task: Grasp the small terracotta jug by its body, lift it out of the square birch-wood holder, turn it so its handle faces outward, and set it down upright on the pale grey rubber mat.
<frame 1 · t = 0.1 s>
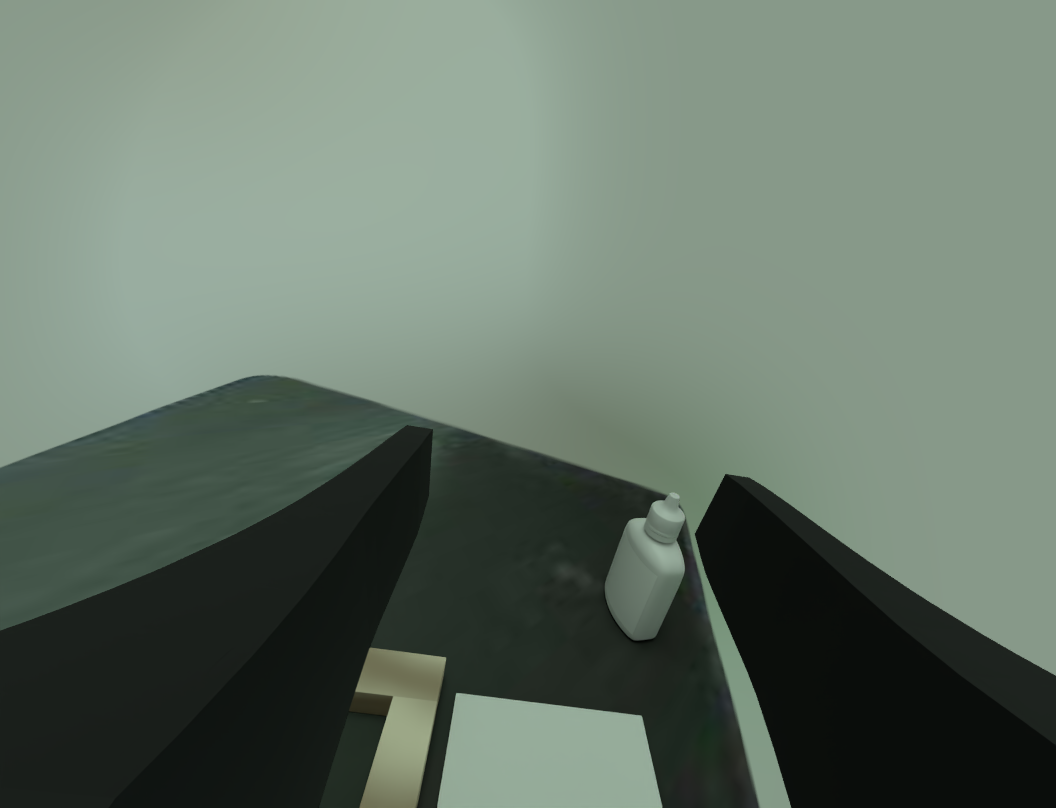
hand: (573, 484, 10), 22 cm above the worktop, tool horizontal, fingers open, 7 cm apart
eye dropper bottle: (626, 612, 33), on the worktop
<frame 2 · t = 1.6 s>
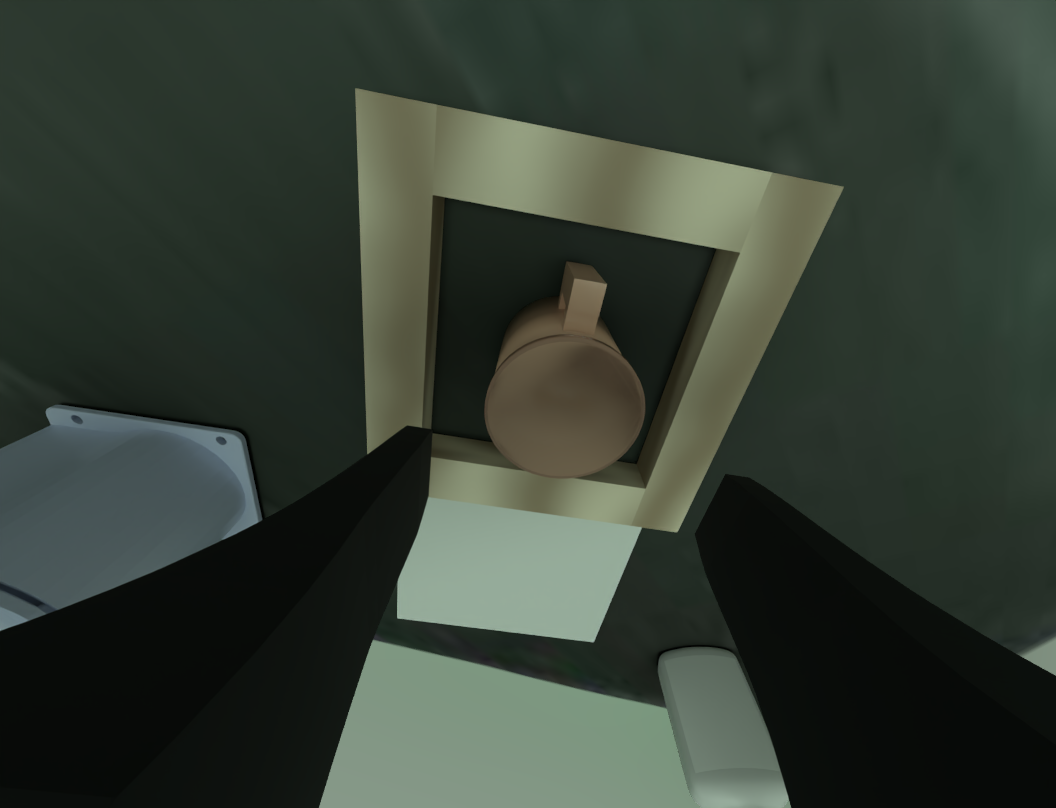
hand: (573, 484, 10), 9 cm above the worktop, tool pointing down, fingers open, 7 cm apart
holder: (556, 351, 18), on the worktop
eye dropper bottle: (693, 655, 29), on the worktop
mat: (509, 569, 25), on the worktop
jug: (563, 360, 15), in the holder
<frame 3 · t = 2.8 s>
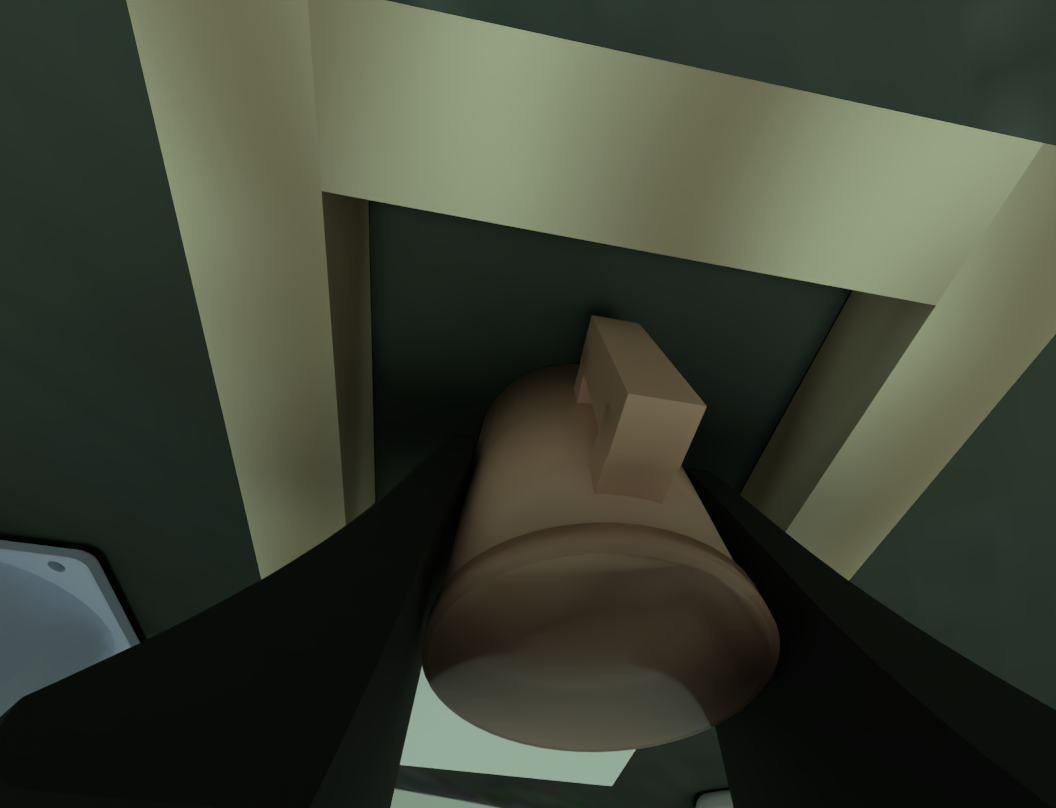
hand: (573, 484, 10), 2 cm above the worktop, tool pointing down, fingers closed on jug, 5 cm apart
holder: (567, 445, 11), on the worktop
eye dropper bottle: (740, 794, 22), on the worktop
mat: (498, 709, 18), on the worktop
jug: (585, 496, 8), in the holder, touching gripper
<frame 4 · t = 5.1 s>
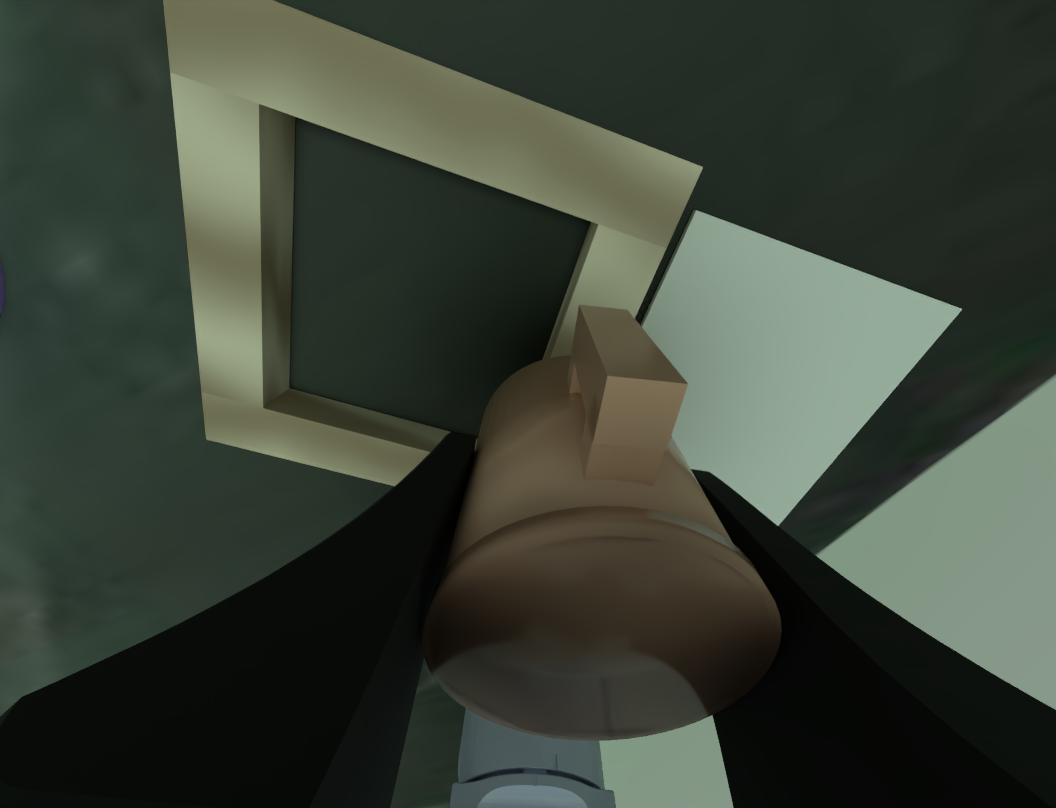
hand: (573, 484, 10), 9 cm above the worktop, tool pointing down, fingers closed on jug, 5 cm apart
holder: (423, 313, 17), on the worktop
mat: (734, 409, 18), on the worktop
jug: (583, 486, 8), point 10 cm above the worktop, touching gripper
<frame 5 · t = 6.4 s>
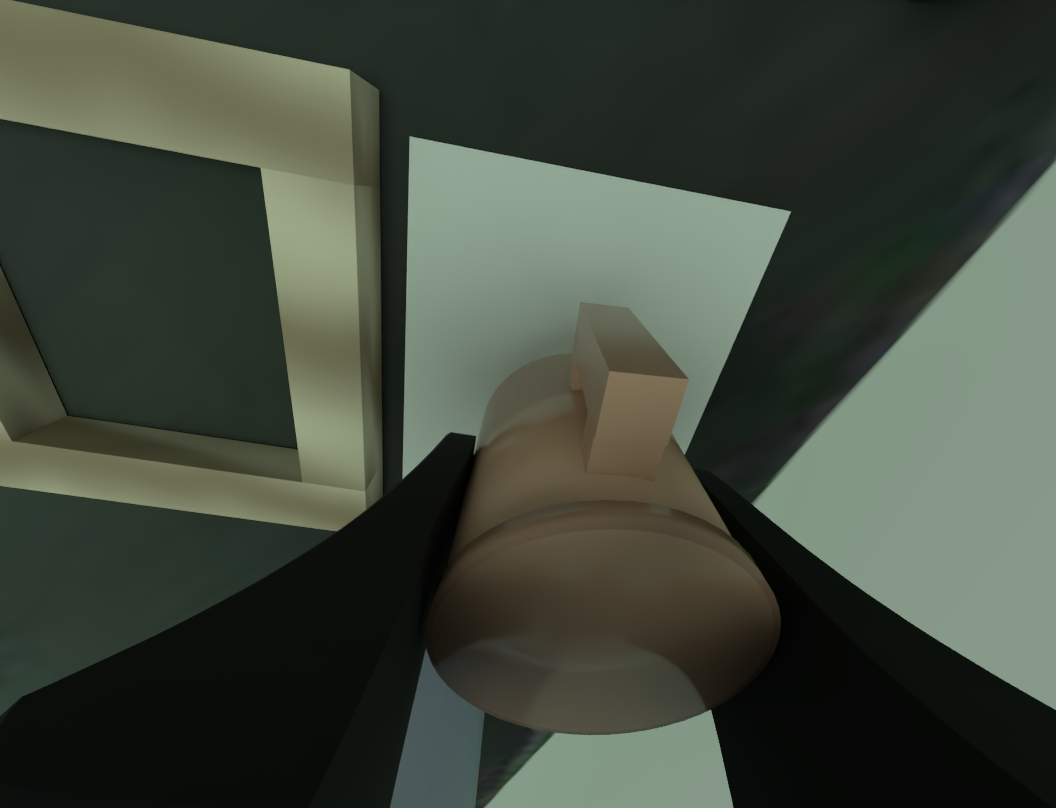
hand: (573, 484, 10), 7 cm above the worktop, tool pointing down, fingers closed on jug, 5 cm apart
holder: (166, 312, 14), on the worktop
mat: (559, 377, 15), on the worktop
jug: (584, 482, 8), point 8 cm above the worktop, touching gripper
when the fingers open (3 cm above the worktop, at t = 7.4 s): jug drops 1 cm, resting on mat.
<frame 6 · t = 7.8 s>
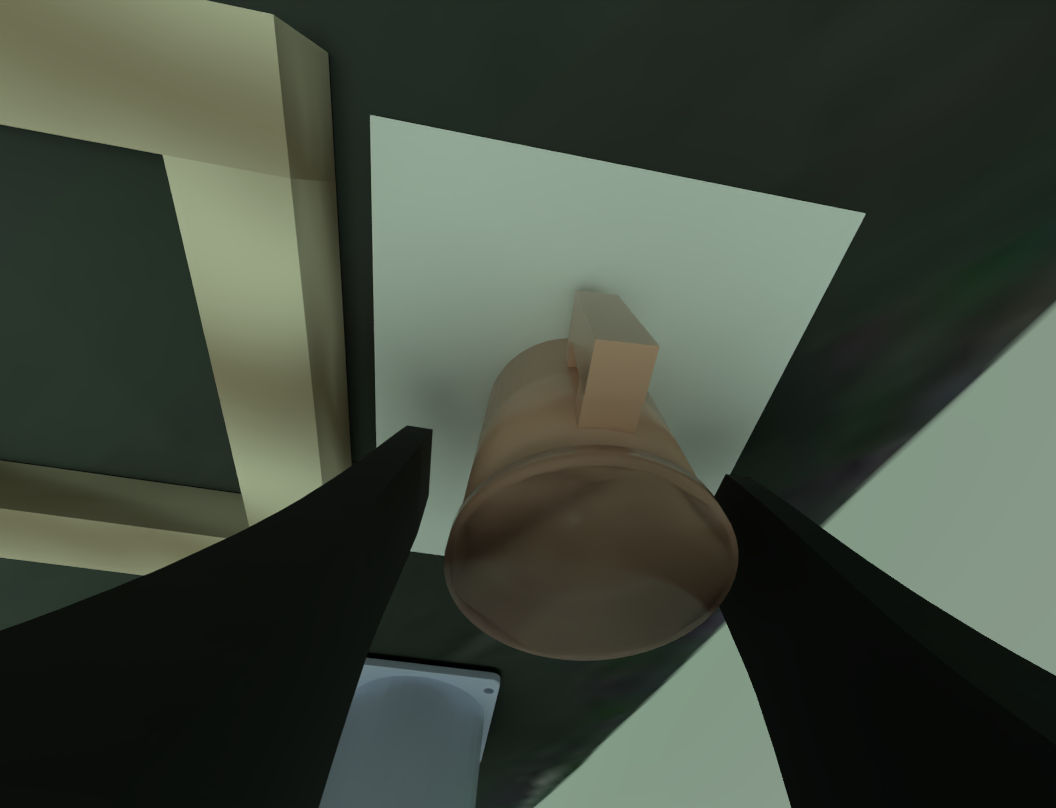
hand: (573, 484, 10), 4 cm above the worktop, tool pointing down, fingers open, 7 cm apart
holder: (79, 337, 12), on the worktop
mat: (564, 414, 13), on the worktop
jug: (579, 448, 9), resting on mat
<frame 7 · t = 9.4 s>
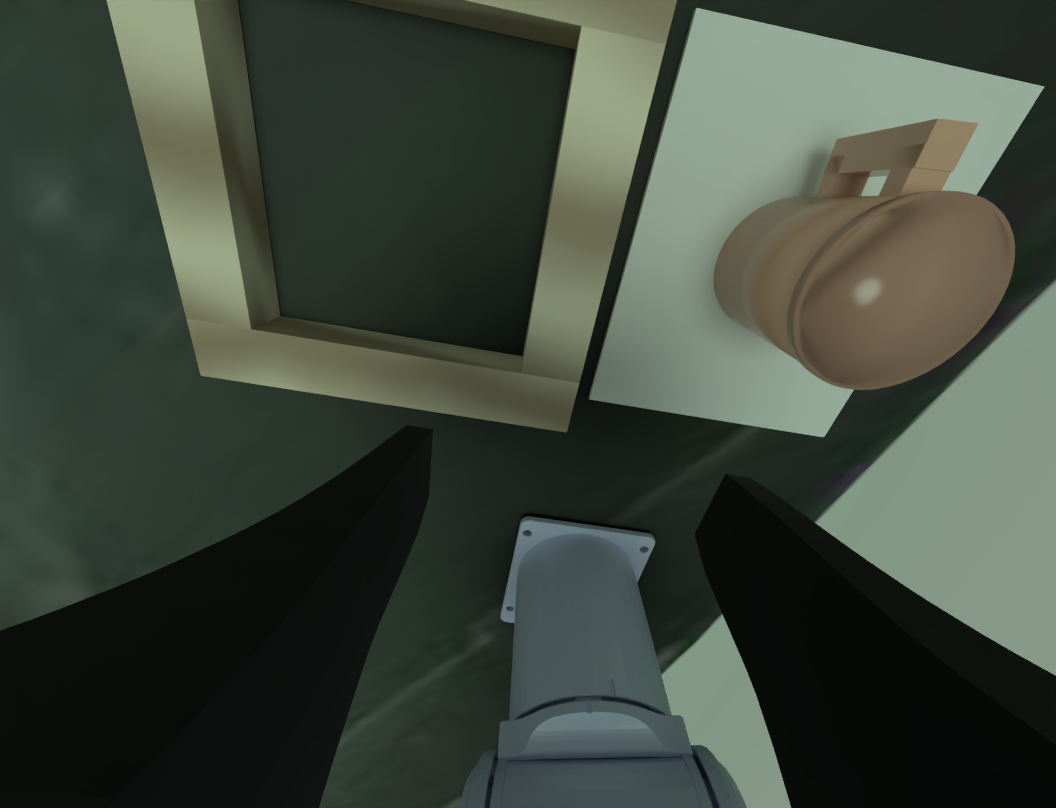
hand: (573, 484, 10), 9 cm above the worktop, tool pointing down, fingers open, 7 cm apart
holder: (406, 202, 15), on the worktop
mat: (770, 270, 16), on the worktop
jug: (836, 257, 13), resting on mat
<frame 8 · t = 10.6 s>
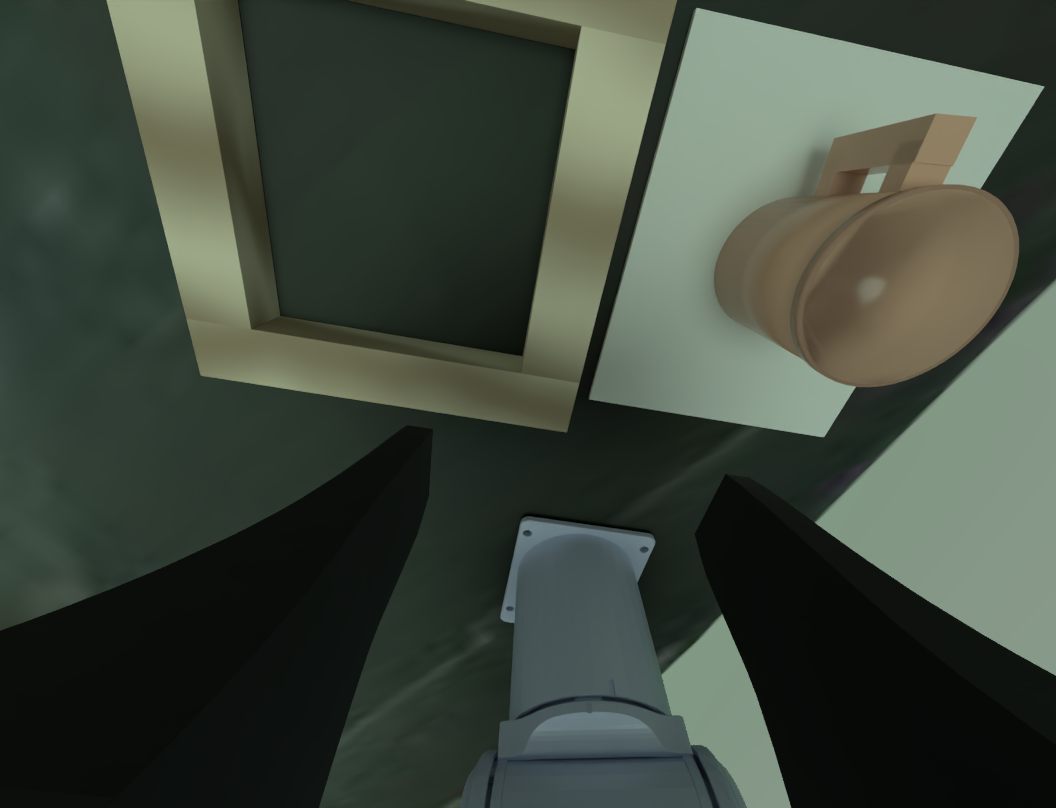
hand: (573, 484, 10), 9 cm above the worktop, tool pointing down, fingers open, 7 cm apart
holder: (406, 202, 15), on the worktop
mat: (770, 270, 16), on the worktop
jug: (837, 255, 13), resting on mat
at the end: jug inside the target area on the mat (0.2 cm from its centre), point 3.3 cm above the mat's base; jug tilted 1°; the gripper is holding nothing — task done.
